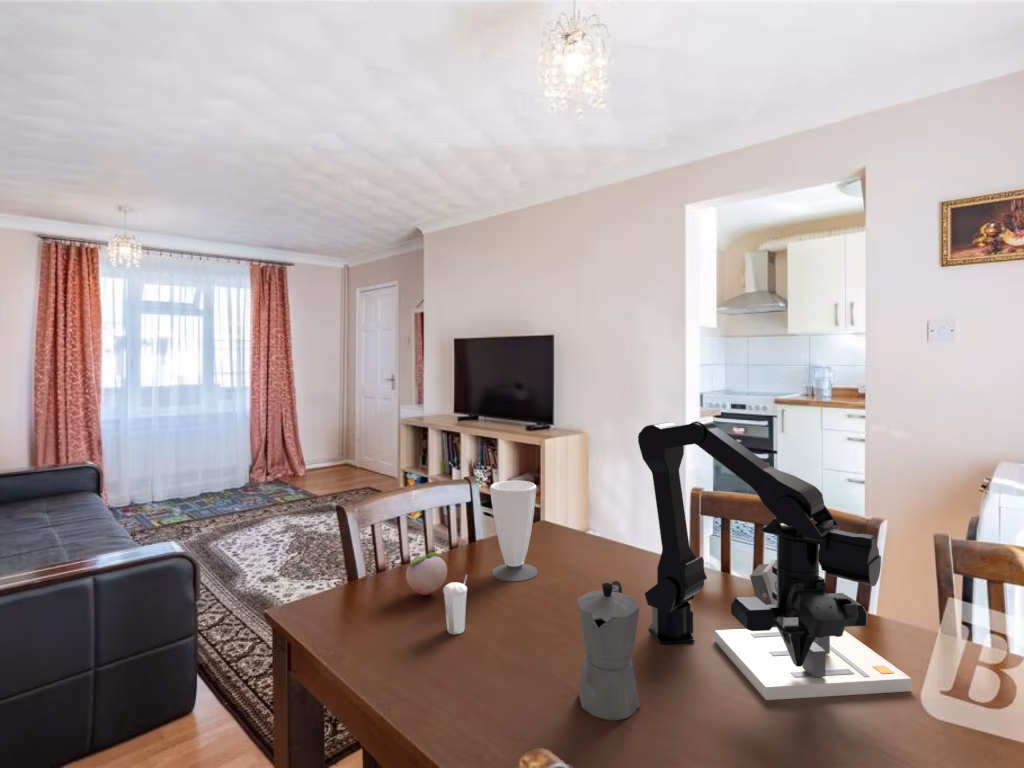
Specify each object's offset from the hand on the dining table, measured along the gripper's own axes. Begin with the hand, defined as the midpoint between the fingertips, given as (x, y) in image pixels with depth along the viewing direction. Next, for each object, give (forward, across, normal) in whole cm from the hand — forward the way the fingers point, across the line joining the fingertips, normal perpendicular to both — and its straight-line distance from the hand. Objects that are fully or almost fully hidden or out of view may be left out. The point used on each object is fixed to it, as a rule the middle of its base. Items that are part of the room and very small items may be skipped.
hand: (797, 665), depth 82 cm
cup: (+4, -41, +50) cm, 65 cm away
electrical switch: (+4, +10, +26) cm, 28 cm away
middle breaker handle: (+1, +7, +6) cm, 10 cm away
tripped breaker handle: (+1, +3, 0) cm, 3 cm away
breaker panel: (+4, +5, +6) cm, 9 cm away
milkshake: (+4, -54, +23) cm, 59 cm away
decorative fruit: (+4, -61, +39) cm, 72 cm away
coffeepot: (+4, -29, 0) cm, 30 cm away
